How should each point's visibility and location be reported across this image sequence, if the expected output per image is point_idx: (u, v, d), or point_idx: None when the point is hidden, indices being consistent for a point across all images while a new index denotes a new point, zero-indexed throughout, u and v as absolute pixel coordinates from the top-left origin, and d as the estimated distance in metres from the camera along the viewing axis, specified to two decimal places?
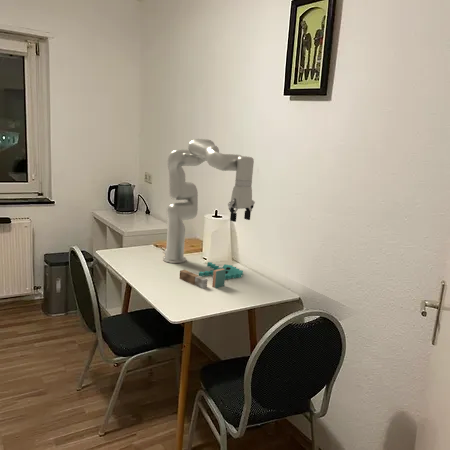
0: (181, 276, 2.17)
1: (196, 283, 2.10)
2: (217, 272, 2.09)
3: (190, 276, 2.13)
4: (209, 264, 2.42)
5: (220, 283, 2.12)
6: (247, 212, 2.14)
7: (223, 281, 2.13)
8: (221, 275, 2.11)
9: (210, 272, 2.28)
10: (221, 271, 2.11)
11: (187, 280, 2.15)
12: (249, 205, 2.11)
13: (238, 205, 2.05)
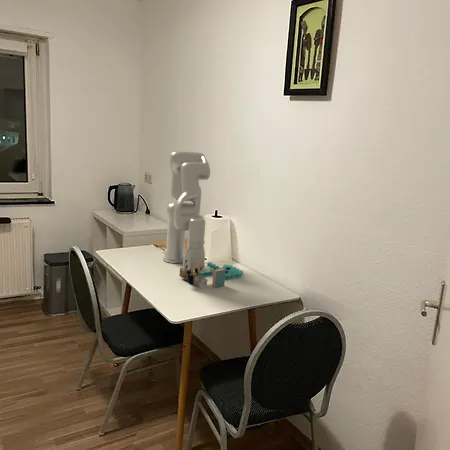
0: (181, 274, 2.17)
1: (196, 283, 2.10)
2: (217, 272, 2.09)
3: None
4: (209, 264, 2.42)
5: (220, 283, 2.12)
6: None
7: (223, 281, 2.13)
8: (221, 275, 2.11)
9: (210, 272, 2.28)
10: (221, 271, 2.11)
11: (187, 278, 2.15)
12: (202, 265, 2.13)
13: (190, 266, 2.08)
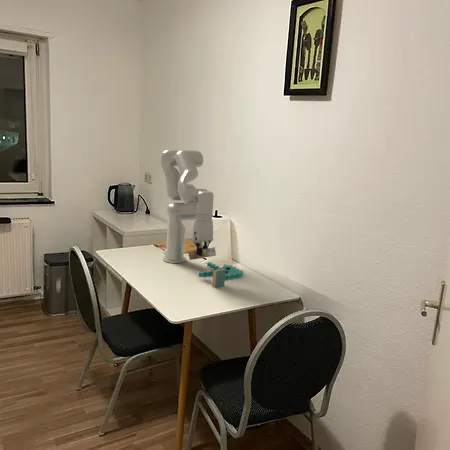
0: (190, 256, 2.22)
1: (205, 254, 2.14)
2: (217, 272, 2.09)
3: None
4: (209, 264, 2.42)
5: (220, 283, 2.12)
6: (204, 247, 2.19)
7: (223, 281, 2.13)
8: (221, 275, 2.11)
9: (210, 272, 2.28)
10: (221, 271, 2.11)
11: (196, 257, 2.19)
12: (210, 237, 2.18)
13: (199, 238, 2.12)
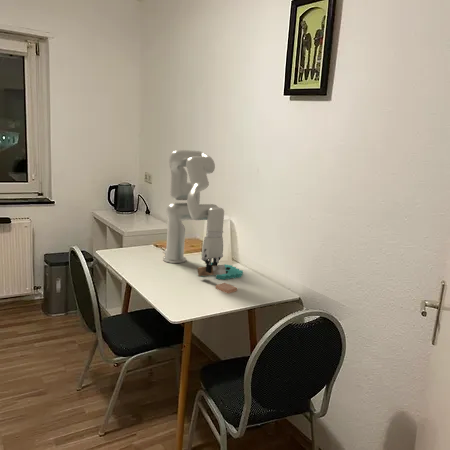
0: (199, 272, 2.18)
1: (215, 272, 2.11)
2: None
3: None
4: None
5: None
6: (214, 264, 2.15)
7: None
8: None
9: None
10: None
11: (206, 273, 2.15)
12: (220, 254, 2.14)
13: (209, 255, 2.09)
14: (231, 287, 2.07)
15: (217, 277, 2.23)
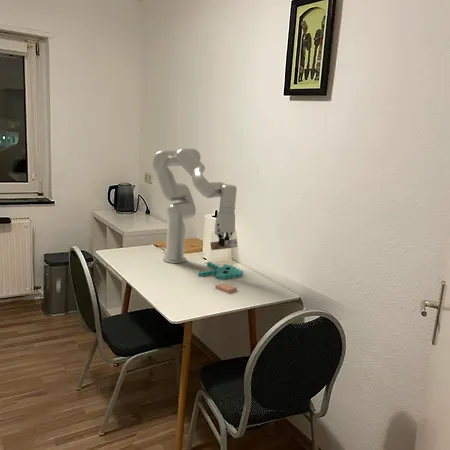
0: (212, 247, 2.32)
1: (227, 245, 2.24)
2: None
3: None
4: (209, 264, 2.42)
5: None
6: (226, 238, 2.28)
7: None
8: None
9: (210, 272, 2.28)
10: None
11: (218, 247, 2.29)
12: (232, 229, 2.27)
13: (221, 230, 2.22)
14: (231, 287, 2.07)
15: (217, 277, 2.23)
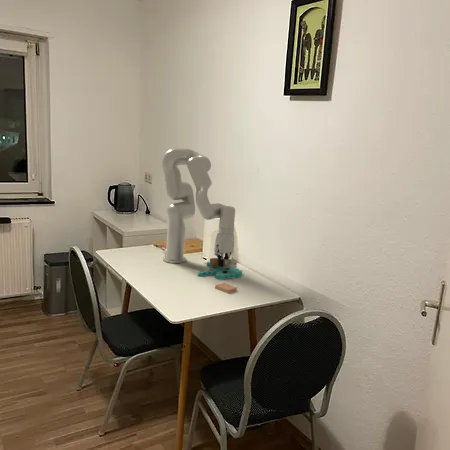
0: (211, 263, 2.35)
1: (226, 265, 2.28)
2: None
3: None
4: (208, 264, 2.42)
5: None
6: None
7: None
8: None
9: (209, 272, 2.28)
10: None
11: None
12: (231, 250, 2.31)
13: (221, 251, 2.26)
14: (230, 287, 2.07)
15: (216, 277, 2.23)
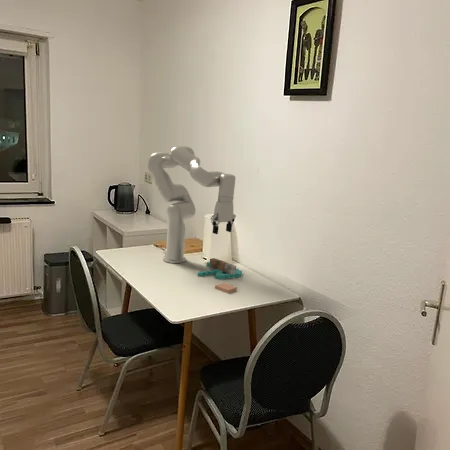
0: (211, 264, 2.35)
1: (226, 270, 2.28)
2: None
3: (220, 263, 2.31)
4: (208, 264, 2.42)
5: None
6: (228, 225, 2.31)
7: None
8: None
9: (209, 272, 2.28)
10: None
11: (217, 267, 2.33)
12: (230, 219, 2.28)
13: (220, 219, 2.23)
14: (230, 287, 2.07)
15: (216, 277, 2.23)
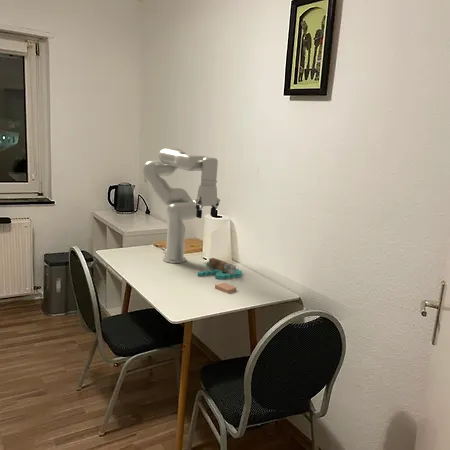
0: (210, 264, 2.36)
1: (225, 270, 2.29)
2: None
3: (219, 263, 2.31)
4: (208, 264, 2.42)
5: None
6: (213, 209, 2.30)
7: None
8: None
9: (209, 272, 2.28)
10: None
11: (216, 267, 2.33)
12: (214, 203, 2.27)
13: (203, 203, 2.21)
14: (230, 287, 2.07)
15: (216, 277, 2.23)
